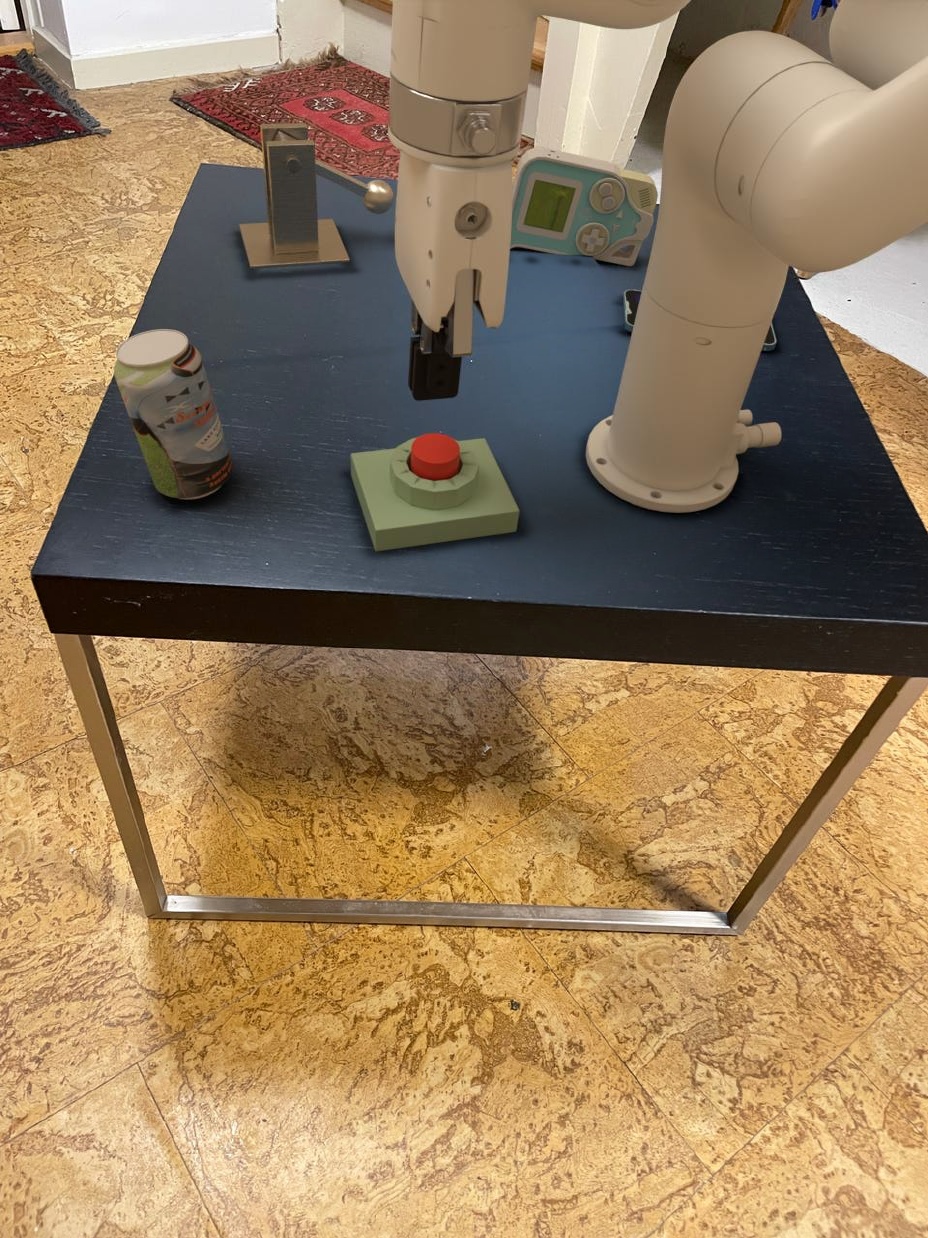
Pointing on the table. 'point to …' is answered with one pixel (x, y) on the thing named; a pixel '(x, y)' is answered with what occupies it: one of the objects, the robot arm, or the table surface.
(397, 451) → the button box
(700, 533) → the table surface
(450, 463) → the button
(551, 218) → the handheld gaming console
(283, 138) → the tap lever
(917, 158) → the robot arm
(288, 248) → the lever stand
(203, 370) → the beverage can
